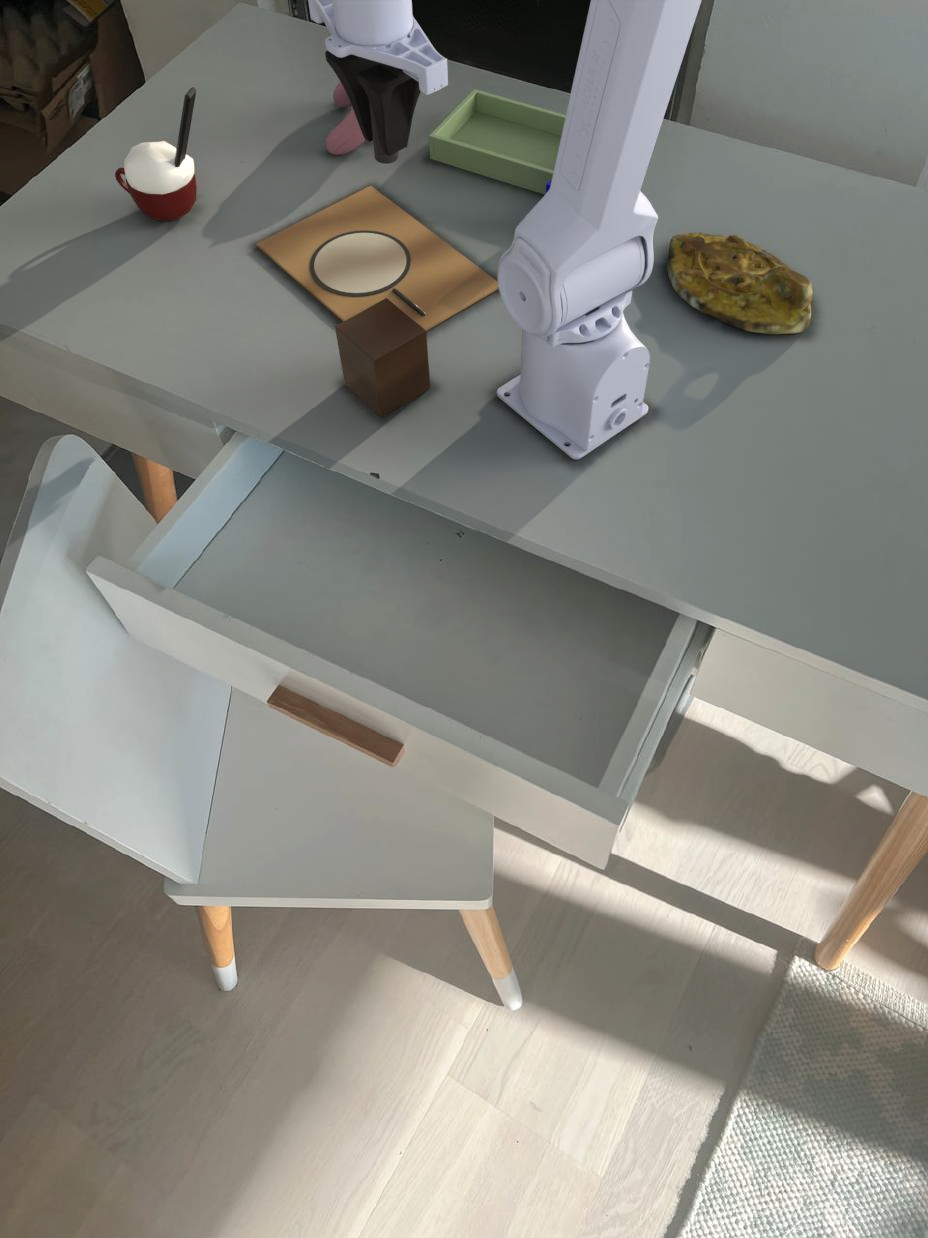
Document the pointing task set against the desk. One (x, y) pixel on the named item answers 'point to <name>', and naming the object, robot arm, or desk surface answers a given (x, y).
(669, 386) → the desk surface
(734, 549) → the desk surface
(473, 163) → the tray
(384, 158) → the marker
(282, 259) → the drawing pad
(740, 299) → the stuffed pastry
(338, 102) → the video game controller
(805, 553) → the desk surface
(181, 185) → the cocoa
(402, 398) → the tall brown wooden block
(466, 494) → the desk surface
